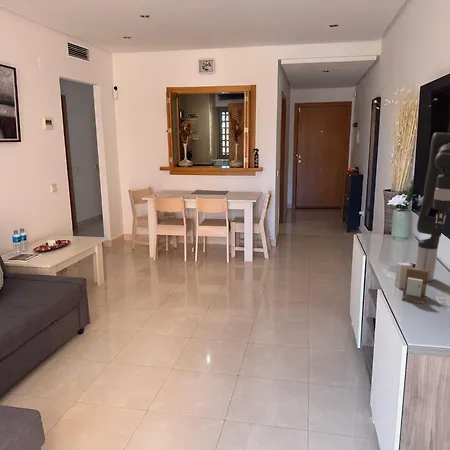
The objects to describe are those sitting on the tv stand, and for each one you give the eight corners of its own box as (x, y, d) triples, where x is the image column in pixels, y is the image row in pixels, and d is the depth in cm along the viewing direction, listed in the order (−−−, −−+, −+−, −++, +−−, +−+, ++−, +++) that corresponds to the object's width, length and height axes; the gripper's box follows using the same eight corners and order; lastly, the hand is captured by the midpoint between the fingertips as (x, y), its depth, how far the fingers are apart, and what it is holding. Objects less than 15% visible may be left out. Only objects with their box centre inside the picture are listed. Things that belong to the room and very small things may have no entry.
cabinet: (404, 291, 197) (407, 267, 194) (425, 295, 192) (428, 270, 190) (401, 300, 186) (404, 274, 183) (423, 304, 182) (427, 278, 179)
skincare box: (405, 285, 205) (408, 262, 202) (410, 288, 200) (413, 265, 198) (394, 285, 204) (396, 262, 201) (398, 288, 200) (401, 265, 197)
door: (406, 295, 188) (408, 277, 186) (420, 298, 186) (422, 279, 184) (405, 298, 185) (407, 279, 184) (419, 300, 183) (422, 281, 181)
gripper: (434, 195, 189) (429, 229, 193) (433, 199, 177) (428, 236, 180) (452, 197, 186) (447, 231, 189) (452, 201, 173) (447, 238, 177)
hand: (438, 233), depth 185 cm, fingers open, 8 cm apart
